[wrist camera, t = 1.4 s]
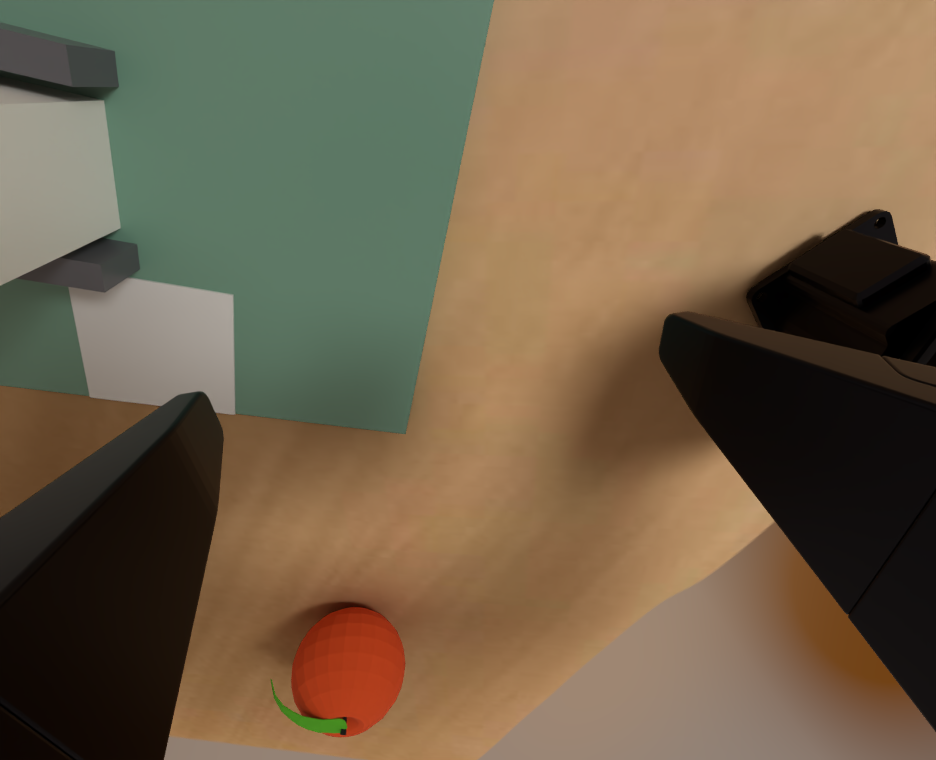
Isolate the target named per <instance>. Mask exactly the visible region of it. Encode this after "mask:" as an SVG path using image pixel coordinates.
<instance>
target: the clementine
mask: <svg viewBox="0 0 936 760" xmlns="http://www.w3.org/2000/svg"><path fill="white" fill-rule="evenodd" d="M404 670H405V657H404V649H403V646H402V642H401V640H400V637H399V635H398V633H397V631H396V629H395V628H394V627H393V626H392V625H391V623H390V622H389V621H388V620H387V619H386V618H385V617H384V616H382V615H381V614H379V613H377V612H374V611H372V610H369V609H366V608H361V607H350V608H345V609H341V610H338V611H335V612H332V613H330V614H328V615H327V616H325V617H324V618H322V619H321V620H320V621H319V622H318V623H316V624H315V625H314V626H313V627H312V628H311V629H310V630H309V631H308V633H307V634H306V636H305V637H304V639H303V640H302V642H301V644H300V646H299V648H298V650H297V653H296V656H295V659H294V662H293V666H292V679H291V683H292V692H293V697H294V702H295V704H296V706H297V707H298V709H299V711H300V713H301V714H302V716H301V715H299V714H297V713H295V712H293V711H291V710H290V709H288V708H287V707H285V706H284V705H283V704H282V703H281V702H280V700H279V699H278V698H277V696H276V695H275V691H274V687H273V683H272V679H271V684H272V690H273V695H274V699H275V701H276V702H277V704H278V706H279V708H280V709H281V711H282V712H283V713H284V714H285V715H286V716H287V717H288V718H289V719H291V720H292V721H293V722H295V723H296V724H297V725H299V726H301V727H303V728H306V729H308V730H311V731H315V732H318V733H323V734H325V735H328V736H332V737H349V736H354V735H357V734H360V733H362V732H364V731H366V730H368V729H369V728H370V727H372V726H373V725H374V724H376V723H377V722H378V721H380V720H381V719H382V718H383V717H384V716H385V715H386V713H387V712H388V711H389V709H390V708H391V707H392V705H393V704H394V702H395V701H396V699H397V696H398V694H399V692H400V689H401V687H402V682H403V677H404Z"/></svg>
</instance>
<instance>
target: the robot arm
mask: <svg viewBox="0 0 936 760" xmlns="http://www.w3.org/2000/svg"><path fill="white" fill-rule="evenodd" d="M876 220H878V221H877V223H876V224H875V222H876ZM874 224H875V225H874ZM760 293H762V295H761V296H760V297H759V298H758V299H757V296H758V295H759V294H760ZM746 298H747V302H748V304H749V306H750V308H751V311H752V313H753V315H754V317H755V320H756V322H757V324H758V326H759V327H754V326H750V325H746V324H741V323H737V322H732V321H728V320H724V319H719V318H715V317H710V316H706V315H702V314H697V313H693V312H679V313H673V314H670V315H668V316H667V317H666V319H665V321H664V325H663V331H662V336H661V341H660V346H659V357H660V360H661V362H662V364H663V365H664V367H665V369H666V370H667V372H668V374H669V375H670V377H671V379H672V380H673V382H674V383H675V385H676V387H677V388H678V390H679V392H680V393H681V395H682V397H683V398H684V400H685V402H686V403H687V405H688V407H689V408H690V410H691V411H692V413H693V414H694V416H695V417H696V419H697V420H698V421H699V423H700V424H701V425H702V427H703V428H704V429H705V431H706V432H707V433H708V435H709V436H710V437H711V438H712V440H713V441H714V442H715V444H716V445H717V446H718V448H719V449H720V450H721V452H722V453H723V454H724V455H725V457H726V458H727V459H728V461H729V462H730V463H731V465H732V466H733V467H734V468H735V470H736V471H737V472H738V474H739V475H740V476H741V478H742V479H743V480H744V482H745V483H746V484H747V485H748V487H749V488H750V489H751V491H752V492H753V493H754V495H755V496H756V497H757V498H758V500H759V501H760V502H761V504H762V505H763V506H764V508H765V509H766V510H767V512H768V513H769V514H770V515H771V517H772V518H773V519H774V521H775V522H776V523H777V524H778V526H779V527H780V529H781V530H782V531H783V532H784V534H785V535H786V536H787V538H788V539H789V540H790V542H791V543H792V544H793V545H794V547H795V548H796V549H797V551H798V552H799V553H800V555H801V556H802V557H803V559H804V560H805V561H806V562H807V564H808V565H809V566H810V568H811V569H812V570H813V571H814V573H815V574H816V575H817V576H818V578H819V579H820V581H821V582H822V583H823V585H824V586H825V587H826V588H827V590H828V591H829V592H830V594H831V595H832V596H833V598H834V599H835V600H836V602H837V603H838V604H839V605H840V607H841V608H842V609H843V611H844V612H845V613H846V614H849V615H848V618H849V619H850V620H851V622H852V623H853V624H854V626H855V627H856V628H857V630H858V631H859V632H860V633H861V635H862V636H863V637H864V639H865V640H866V641H867V643H868V644H869V645H870V647H871V648H872V649H873V650H874V651H875V653H876V654H877V656H878V657H879V658H880V659H881V661H882V662H883V664H884V665H885V666H886V667H887V669H888V670H889V671H890V673H891V674H892V675H893V677H894V678H895V679H896V681H897V682H898V683H899V684H900V686H901V687H902V688H903V690H904V691H905V692H906V694H907V695H908V696H909V697H910V699H911V700H912V701H913V703H914V704H915V705H916V707H917V708H918V709H919V710H920V712H921V713H922V715H923V716H924V717H925V718H926V720H927V721H928V722H929V724H930V725H931V726H932V728H933V729H934V730H935V731H936V261H933V260H931V259H930V256H929V255H927V254H924V253H921V252H918V251H915V250H912V249H909V248H906V247H902V246H899V245H898V242H897V237H896V233H895V228H894V224H893V219H892V215H891V214H890V212H887V211H884V210H880V209H876V210H873V211H871V212H869V213H868V214H866V215H864V216H863V217H861V218H860V219H858V220H857V221H855V222H854V223H852V224H850V225H849V226H847V227H846V228H844V229H843V230H841V231H839V232H838V233H836V234H835V235H833V236H832V237H830V238H828V239H827V240H825V241H824V242H822V243H821V244H819V245H817V246H816V247H814V248H813V249H811V250H810V251H808V252H807V253H805V254H803V255H802V256H800V257H799V258H797V259H796V260H794V261H793V262H791V263H789V264H788V265H786V266H785V267H783V268H782V269H780V270H778V271H777V272H775V273H774V274H772V275H771V276H769V277H767V278H766V279H764V280H763V281H761V282H760V283H758V284H757V285H755V286H753V287H752V288H751V289H750V290H749V292H748V293H747V297H746ZM223 441H224V437H223V430H222V427H221V424H220V422H219V420H218V418H217V415H216V413H215V411H214V409H213V406H212V404H211V402H210V400H209V398H208V396H207V395H206V394H205V393H204V392H202V391H196V392H190V393H184V394H179V395H177V396H175V397H174V398H172V399H171V400H170V401H168V402H167V403H165V404H164V405H162V406H161V407H159V408H158V409H157V410H155V411H154V412H152V413H151V414H149V415H148V416H146V417H145V418H144V419H142V420H141V421H139V422H138V423H136V424H135V425H133V426H132V427H131V428H129V429H128V430H126V431H125V432H123V433H122V434H121V435H119V436H118V437H116V438H115V439H113V440H112V441H110V442H109V443H108V444H106V445H105V446H103V447H102V448H100V449H99V450H97V451H96V452H95V453H93V454H92V455H90V456H89V457H87V458H86V459H84V460H83V461H82V462H80V463H79V464H77V465H76V466H74V467H73V468H72V469H70V470H69V471H67V472H66V473H64V474H63V475H61V476H60V477H59V478H57V479H56V480H54V481H53V482H51V483H50V484H48V485H47V486H46V487H44V488H43V489H41V490H40V491H38V492H37V493H35V494H34V495H33V496H31V497H30V498H28V499H27V500H25V501H24V502H23V503H21V504H20V505H18V506H17V507H15V508H14V509H12V510H11V511H10V512H8V513H7V514H5V515H4V516H2V517H1V518H0V760H164V757H165V751H166V747H167V742H168V738H169V734H170V729H171V724H172V720H173V715H174V710H175V706H176V701H177V697H178V692H179V687H180V683H181V678H182V674H183V669H184V664H185V660H186V655H187V651H188V646H189V641H190V637H191V632H192V628H193V623H194V618H195V614H196V609H197V605H198V600H199V595H200V591H201V586H202V582H203V577H204V572H205V568H206V563H207V559H208V554H209V549H210V545H211V540H212V535H213V531H214V526H215V521H216V516H217V511H218V502H219V491H220V478H221V466H222V453H223Z"/></svg>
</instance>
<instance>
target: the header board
mask: <svg viewBox="0 0 936 760" xmlns="http://www.w3.org/2000/svg"><path fill="white" fill-rule="evenodd" d="M493 2H494V0H0V77H5V78H9V79H13V80H18V81H22V82H26V83H30V84H35V85H39V86H43V87H48V88H52V89H56V90H61V91H65V92H69V93H74V94H78V95H82V96H87V97H91V98H95V99H100V100H104V104H105V112H106V120H107V127H108V135H109V143H110V150H111V158H112V165H113V173H114V181H115V188H116V196H117V204H118V211H119V219H120V226H121V228H120V229H118V230H116V231H114V232H112V233H110V234H108V235H105V236H103V237H101V238H99V239H97V240H95V241H93V242H91V243H89V244H87V245H84V246H82V247H80V248H78V249H76V250H74V251H72V252H70V253H68V254H66V255H64V256H61V257H59V258H57V259H55V260H53V261H51V262H49V263H47V264H45V265H43V266H40V267H38V268H36V269H34V270H32V271H30V272H28V273H26V274H24V275H22V276H20V277H17V278H15V279H13V280H11V281H9V282H7V283H5V284H3V285H1V286H0V385H2V386H10V387H19V388H27V389H35V390H43V391H52V392H60V393H68V394H77V395H85V396H90V398H98V399H107V400H115V401H123V402H132V403H140V404H148V405H157V406H162V405H164V404H165V403H167V402H168V401H170V400H171V399H172V398H174V397H175V396H177V395H179V394H184V393H190V392H196V391H202V392H204V393H205V394H206V395H207V396H208V398H209V400H210V402H211V404H212V406H213V409H214V411H215V413H223V414H232V415H235V414H243V415H251V416H259V417H268V418H276V419H284V420H293V421H301V422H309V423H317V424H326V425H334V426H342V427H351V428H359V429H367V430H376V431H384V432H392V433H400V434H406V429H407V424H408V419H409V414H410V409H411V404H412V400H413V395H414V390H415V385H416V380H417V375H418V370H419V365H420V360H421V355H422V351H423V346H424V341H425V336H426V331H427V326H428V321H429V316H430V311H431V306H432V302H433V297H434V292H435V287H436V282H437V277H438V272H439V267H440V262H441V257H442V252H443V248H444V243H445V238H446V233H447V228H448V223H449V218H450V213H451V208H452V203H453V199H454V194H455V189H456V184H457V179H458V174H459V169H460V164H461V159H462V154H463V150H464V145H465V140H466V135H467V130H468V125H469V120H470V115H471V110H472V105H473V100H474V96H475V91H476V86H477V81H478V76H479V71H480V66H481V61H482V56H483V51H484V47H485V42H486V37H487V32H488V27H489V22H490V17H491V12H492V7H493Z"/></svg>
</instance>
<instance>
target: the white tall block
mask: <svg viewBox="0 0 936 760" xmlns="http://www.w3.org/2000/svg"><path fill="white" fill-rule="evenodd" d="M120 228H121V226H120V219H119V211H118V204H117V196H116V188H115V181H114V173H113V165H112V158H111V150H110V143H109V135H108V127H107V120H106V112H105V104H104V100H100V99H95V98H91V97H87V96H82V95H78V94H74V93H69V92H65V91H61V90H56V89H52V88H48V87H43V86H39V85H35V84H30V83H26V82H22V81H18V80H13V79H9V78H5V77H0V286H1V285H3V284H5V283H7V282H9V281H11V280H13V279H15V278H17V277H20V276H22V275H24V274H26V273H28V272H30V271H32V270H34V269H36V268H38V267H40V266H43V265H45V264H47V263H49V262H51V261H53V260H55V259H57V258H59V257H61V256H64V255H66V254H68V253H70V252H72V251H74V250H76V249H78V248H80V247H82V246H84V245H87V244H89V243H91V242H93V241H95V240H97V239H99V238H101V237H103V236H105V235H108V234H110V233H112V232H114V231H116V230H118V229H120Z"/></svg>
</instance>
